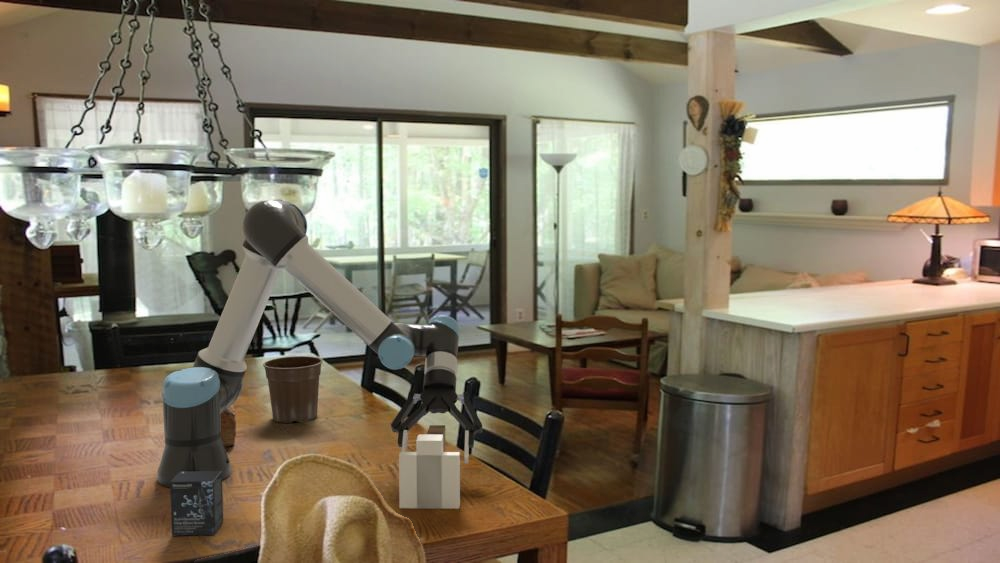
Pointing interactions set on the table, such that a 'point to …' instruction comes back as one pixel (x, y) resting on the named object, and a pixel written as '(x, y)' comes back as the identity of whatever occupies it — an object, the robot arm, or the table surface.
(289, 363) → the plant pot
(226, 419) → the bread
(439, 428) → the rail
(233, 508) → the table surface
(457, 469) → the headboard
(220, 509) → the box
